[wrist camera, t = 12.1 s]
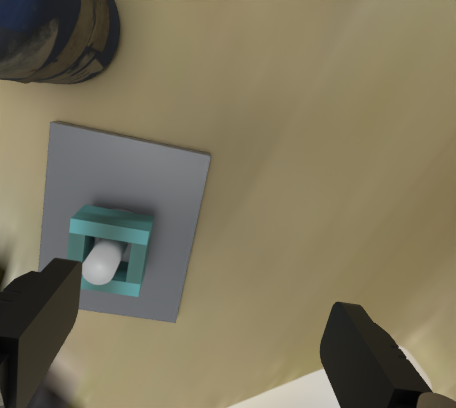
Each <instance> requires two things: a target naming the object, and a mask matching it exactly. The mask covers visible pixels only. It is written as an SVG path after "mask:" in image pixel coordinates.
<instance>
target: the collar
mask: <svg viewBox="0 0 456 408" xmlns="http://www.w3.org/2000/svg"><path fill="white" fill-rule="evenodd" d="M153 222H154V217H153V216H147V215H141V214H136V213H130V212H124V211H119V210H113V209H107V208H102V207H96V206H90V205H84V206H83V207H82V208H81V209H80V210H79V211H78V212H77V213H76V214H75V215H74V216H72V217H71V220H70V230H69V241H68V251H67V259H69V260H75V261H81V262H82V264H83V263H84V261H85V260H86V258H87V257H88V255H89V254H90V252H91V251H92V249H93V248H94V245H95V237H99V238H106V239H112V240H118V241H124V242H130V243H132V244H131V251H130V257H129V262H125V261H120V263H119V265H118V267H117V270H116V272H115V274H114V276H113V278H112V279H111V280H110V281H109V282H108V283H106V284H103V285H95V284H92V283H89V282H88V281H87V280H86V279H85V278H84V277H83V275H82V279H81V289H86V290H93V291H100V292H107V293H114V294H121V295H128V296H135V297H138V296H139V293H140V290H141V286H142V283H143V280H144V276H145V270H146V264H147V258H148V252H149V246H150V240H151V234H152V228H153Z"/></svg>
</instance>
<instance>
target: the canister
mask: <svg viewBox="0 0 456 408" xmlns="http://www.w3.org/2000/svg"><path fill="white" fill-rule="evenodd" d="M119 34H120V24H119V16H118V11H117V7H116V4H115V2H114V0H0V79H1V80H11V81H16V82H21V83H30V82H38V83H53V84H74V83H80V82H84V81H86V80H89V79H91V78H93V77H94V76H96V75H97V74H99V73H100V72H101V71H102V70H104V69H105V67H106V66H107V65H108V64H109V62H110V61H111V59H112V58H113V56H114V53H115V51H116V48H117V45H118V40H119Z"/></svg>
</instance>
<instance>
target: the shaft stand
mask: <svg viewBox="0 0 456 408" xmlns="http://www.w3.org/2000/svg"><path fill="white" fill-rule="evenodd" d="M210 158H211V154H210V153H206V152H201V151H197V150H192V149H187V148H182V147H178V146H173V145H168V144H164V143H159V142H154V141H150V140H145V139H140V138H135V137H131V136H126V135H121V134H117V133H112V132H107V131H102V130H98V129H93V128H88V127H84V126H79V125H74V124H69V123H65V122H60V121H54V122H50V133H49V145H48V157H47V170H46V182H45V194H44V207H43V219H42V232H41V244H40V256H39V269H38V272H41V271H42V270H43V269H44V268H45V267H46V266H47V265H48V264H49V263H50V262H51V261H52V259H54V258H62V259H67V251H68V241H69V230H70V220H71V217H72V216H74V215H75V214H76V213H77V212H78V211H79V210H80V209H81V208H82V207H83V206H84V205H90V206H96V207H102V208H107V209H113V210H119V211H124V212H130V213H136V214H141V215H147V216H153V217H154V222H153V228H152V234H151V240H150V246H149V252H148V258H147V264H146V270H145V276H144V280H143V283H142V286H141V290H140V293H139V296H138V297H135V296H128V295H121V294H114V293H107V292H100V291H93V290H86V289H80V300H79V309H81V310H88V311H95V312H102V313H109V314H116V315H123V316H130V317H137V318H144V319H151V320H159V321H166V322H173V323H176V318H177V313H178V309H179V304H180V299H181V295H182V290H183V285H184V281H185V276H186V271H187V266H188V262H189V257H190V252H191V248H192V243H193V238H194V234H195V229H196V224H197V220H198V215H199V210H200V205H201V201H202V196H203V191H204V187H205V182H206V177H207V173H208V168H209V163H210ZM131 244H132V243H130V242H124V241H118V240H112V239H106V238H99V237H95V245H94V248H93V249H92V251H91V252H90V254H89V255H88V257H87V258H86V260H85V261H84V263H83V264H82V275H83V277H84V278H85V279H86V280H87V281H88V282H89V283H92V284H95V285H103V284H106V283H108V282H109V281H110V280H111V279H112V278H113V276H114V274H115V272H116V270H117V267H118V265H119V263H120V261H125V262H129V257H130V251H131Z"/></svg>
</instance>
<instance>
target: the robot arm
mask: <svg viewBox="0 0 456 408" xmlns="http://www.w3.org/2000/svg"><path fill="white" fill-rule="evenodd" d="M81 279H82V262H81V261H75V260H69V259H62V258H54V259H52V261H51V262H50V263H49V264H48V265H47V266H46V267H45V268H44V269H43V270H42V271H41V272H35V271H31V272H28V273H26V274H24V275H22V276H20V277H18V278H15V279H14V280H13V281H12V282H11V283H10V284H9V285H8V286H7V287H6V288H5V289H3V292H0V408H26V406H27V405H28V403H29V401H30V399H31V398H32V396H33V394H34V393H35V391H36V389H37V387H38V386H39V384H40V382H41V381H42V379H43V377H44V375H45V374H46V372H47V370H48V369H49V367H50V365H51V364H52V362H53V360H54V358H55V357H56V355H57V353H58V352H59V350H60V348H61V346H62V345H63V343H64V341H65V340H66V338H67V336H68V335H69V333H70V331H71V329H72V328H73V325H74V323H75V320H76V317H77V314H78V309H79V300H80V289H81ZM320 358H321V362H322V364H323V367H324V369H325V371H326V374H327V376H328V379H329V381H330V383H331V385H332V388H333V391H334V393H335V395H336V398H337V400H338V402H339V405H340V407H341V408H456V402H455V401H454V400H452V399H450V398H448V397H446V396H443V395H441V394H437V393H433V392H432V390H431V389H430V388H429V386H428V385H427V384H426V382H425V381H424V380H423V379H422V377H421V376H420V375H419V373H418V372H417V371H416V369H415V368H414V366H413V365H412V364H411V363H410V361H409V360H407V359H406V356H405V354H404V353H403V352H402V351H401V349H399V348H398V345H397V344H396V343H395V341H394V340H393V339H392V337H391V336H390V335H389V334H388V333H387V332H386V331H385V330H383V329H382V328H381V327H380V326H379V325H377V324H376V323H374V322H373V321H372V320H371V318H370V317H369V316H368V314H367V313H366V311H365V310H364V309H363V307H362V306H361V305H357V304H350V303H344V302H336V303H335V304H334V305H333V307H332V310H331V313H330V316H329V319H328V322H327V325H326V328H325V331H324V334H323V337H322V340H321V344H320Z"/></svg>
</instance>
